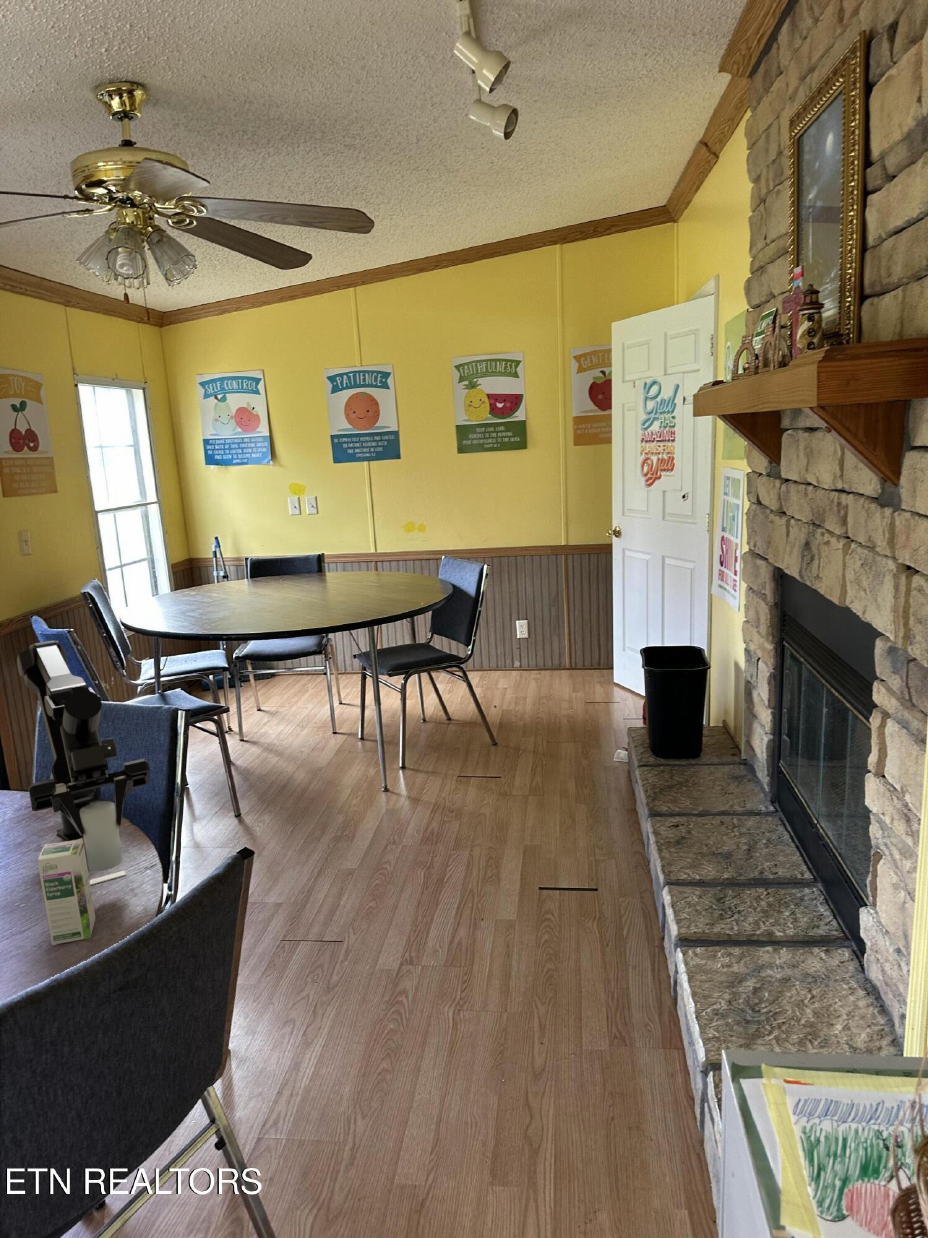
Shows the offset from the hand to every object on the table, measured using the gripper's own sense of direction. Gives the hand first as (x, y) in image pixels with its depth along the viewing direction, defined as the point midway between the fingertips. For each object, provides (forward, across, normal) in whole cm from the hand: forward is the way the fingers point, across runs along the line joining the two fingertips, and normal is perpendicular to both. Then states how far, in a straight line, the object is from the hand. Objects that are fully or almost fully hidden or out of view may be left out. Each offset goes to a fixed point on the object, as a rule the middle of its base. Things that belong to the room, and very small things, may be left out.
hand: (101, 830), depth 139 cm
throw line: (+4, -2, +13) cm, 14 cm away
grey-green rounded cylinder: (+4, 0, +6) cm, 7 cm away
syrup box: (+14, -7, +3) cm, 16 cm away
